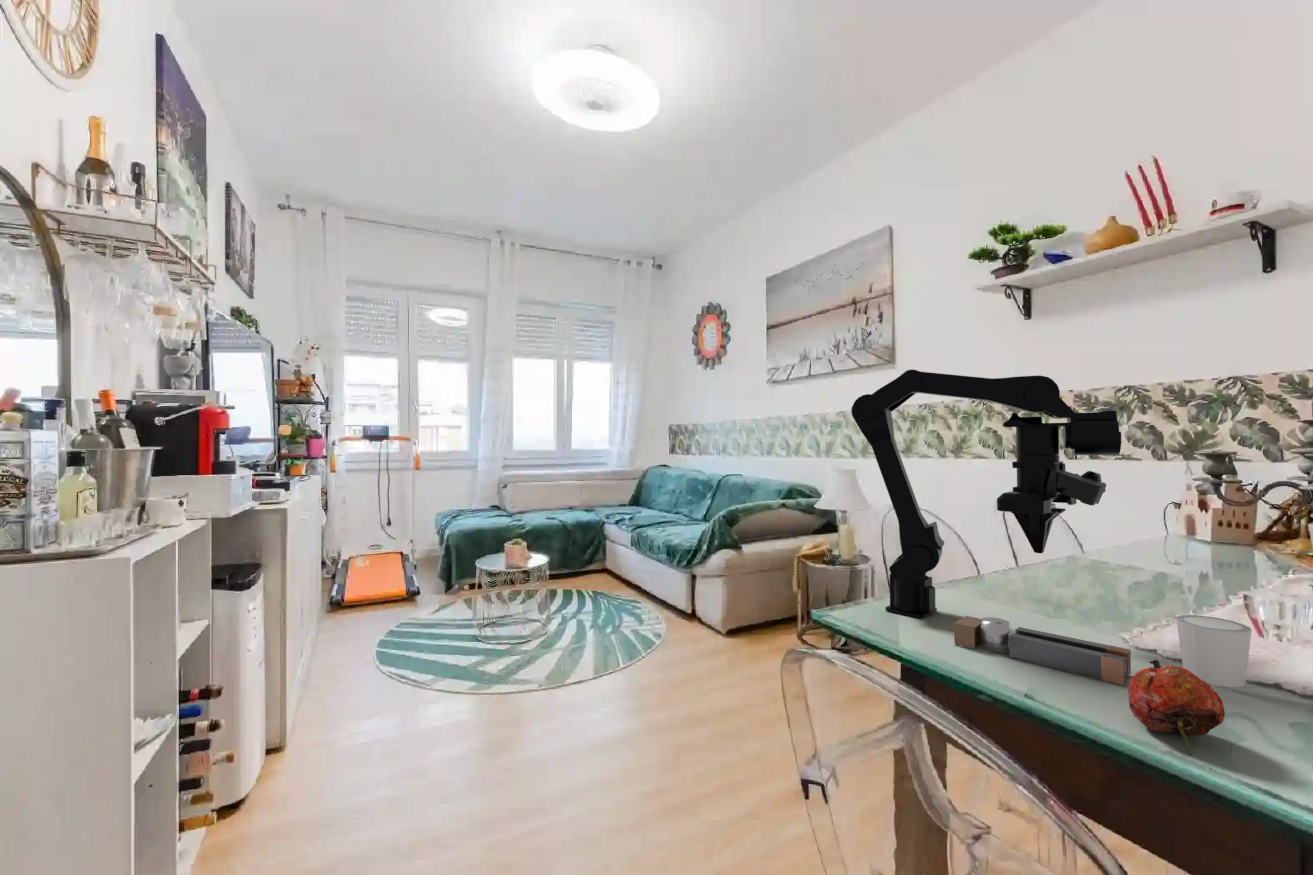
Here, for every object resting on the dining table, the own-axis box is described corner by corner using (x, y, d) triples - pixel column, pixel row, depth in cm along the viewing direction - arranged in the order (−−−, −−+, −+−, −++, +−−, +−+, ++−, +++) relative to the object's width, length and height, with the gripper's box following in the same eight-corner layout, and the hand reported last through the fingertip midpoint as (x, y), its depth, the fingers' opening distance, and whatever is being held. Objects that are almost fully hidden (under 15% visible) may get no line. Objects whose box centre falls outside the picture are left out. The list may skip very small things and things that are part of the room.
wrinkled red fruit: (1239, 780, 55) (1209, 685, 62) (1242, 738, 52) (1210, 643, 59) (1139, 765, 59) (1121, 677, 66) (1136, 725, 56) (1117, 637, 63)
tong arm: (1015, 650, 82) (1015, 629, 82) (1019, 647, 83) (1019, 626, 83) (1128, 676, 72) (1127, 653, 72) (1130, 672, 74) (1130, 649, 74)
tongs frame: (954, 644, 85) (954, 617, 85) (967, 636, 88) (966, 610, 88) (1123, 686, 70) (1122, 653, 70) (1131, 675, 73) (1130, 644, 73)
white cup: (1187, 683, 71) (1186, 626, 71) (1169, 663, 77) (1168, 611, 77) (1263, 693, 68) (1262, 634, 68) (1238, 672, 74) (1237, 618, 74)
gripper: (1083, 458, 80) (1085, 570, 80) (1114, 454, 92) (1115, 551, 92) (994, 456, 88) (996, 558, 88) (1033, 453, 100) (1035, 542, 100)
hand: (1039, 552), depth 92 cm, fingers closed
